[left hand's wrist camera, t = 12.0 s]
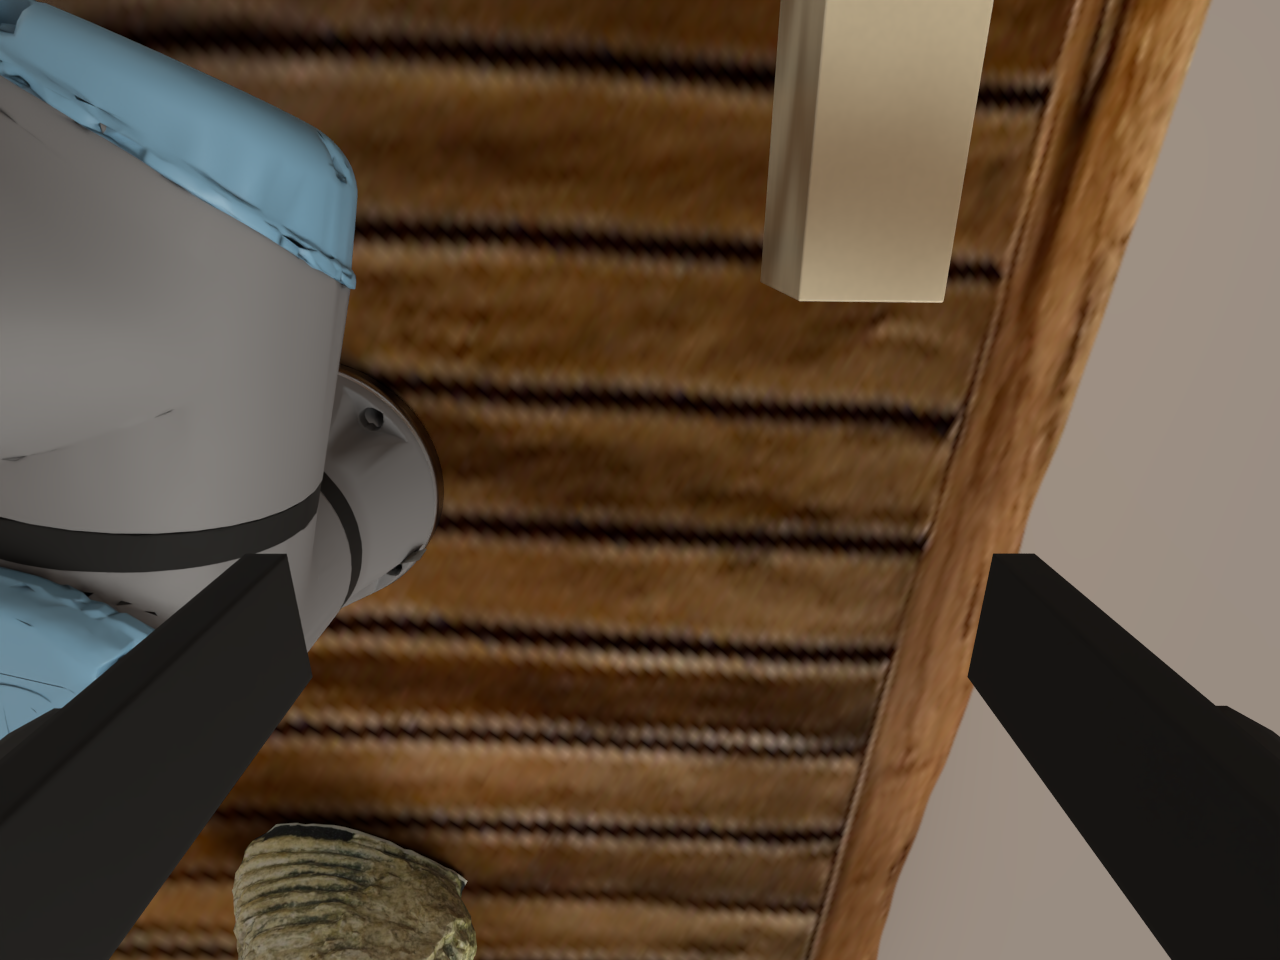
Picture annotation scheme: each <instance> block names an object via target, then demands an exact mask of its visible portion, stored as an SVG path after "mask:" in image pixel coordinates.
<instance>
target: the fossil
mask: <svg viewBox="0 0 1280 960" xmlns="http://www.w3.org/2000/svg"><path fill="white" fill-rule="evenodd" d="M466 882H467V880H465V879H464V878H463V877H461V876H460V875H459V874H458V873H456V872H455V871H453V870H451V869H449V868H446V867H444V866H442V865H440V864H438V863H437V862H435V861H433V860H431V859H429V858H426V857H424V856H422V855H420V854H418V853H416V852H414V851H412V850H406V849H403V848H401V847H400V846H398V845H396V844H394V843H392V842H390V841H387V840H385V839H382V838H379V837H376V836H373V835H370V834H367V833H364V832H361V831H358V830H354V829H350V828H346V827H341V826H336V825H323V824H300V823H288V824H276V825H275V826H274V827H273V828H272V829H271V830H269V831H268V832H267V833H265V834H263V835H262V836H260V837H258V838H256V839H255V840H253V841H252V842H251V843H250V845H249V846H248V847H247V848H246V850H245V854H244V858H243V861H242V863H241V865H240V867H239V869H238V870H237V872H236V873H235V882H234V887H233V890H232V892H233V895H234V914H235V917H236V924H235V927H234V933H235V935H236V938H237V950H238V954H239V958H238V960H473V958H474V956H475V954H476V949H477V946H476V934H475V930H474V928H473V925H472V923H471V916H470V914H469V912H468V910H467V909H466V907H465V905H464V903H463V901H462V900H461V894H462V890H463V888H464V886H465V884H466Z"/></svg>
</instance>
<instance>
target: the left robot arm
mask: <svg viewBox="0 0 1280 960" xmlns="http://www.w3.org/2000/svg"><path fill="white" fill-rule="evenodd" d="M356 207H357V185H356V180H355V176H354V173H353V170H352V168H351V165H350V163H349V161H348V160H347V158H346V156H345V155H344V154H343V152H342V151H341V149H340V148H339V147H338V146H337V145H336V144H335V143H334V142H333V141H332V140H331V139H330V138H329V137H328V136H326V135H325V134H324V133H323V132H321V131H320V130H318V129H317V128H315V127H313V126H311V125H310V124H308V123H306V122H304V121H302V120H300V119H298V118H296V117H295V116H293V115H291V114H289V113H287V112H285V111H283V110H281V109H279V108H277V107H275V106H273V105H271V104H269V103H267V102H265V101H262V100H260V99H258V98H256V97H254V96H252V95H250V94H248V93H246V92H244V91H242V90H239V89H237V88H235V87H233V86H231V85H229V84H227V83H224V82H222V81H220V80H218V79H216V78H214V77H212V76H209V75H207V74H205V73H203V72H201V71H199V70H196V69H194V68H192V67H190V66H188V65H185V64H183V63H181V62H179V61H177V60H175V59H172V58H170V57H168V56H166V55H164V54H161V53H159V52H157V51H155V50H152V49H150V48H148V47H146V46H143V45H141V44H139V43H137V42H134V41H132V40H130V39H127V38H125V37H123V36H121V35H118V34H116V33H114V32H112V31H109V30H107V29H105V28H103V27H100V26H98V25H96V24H94V23H91V22H89V21H87V20H84V19H82V18H80V17H77V16H75V15H72V14H70V13H68V12H65V11H63V10H61V9H58V8H56V7H53V6H51V5H49V4H46V3H41V2H37V1H35V0H0V960H109V958H110V957H111V956H112V954H113V953H114V951H115V950H116V949H117V947H118V946H119V945H120V943H121V942H122V940H123V939H124V938H125V936H126V935H127V933H128V932H129V931H130V929H131V928H132V926H133V925H134V924H135V922H136V921H137V920H138V918H139V917H140V915H141V914H142V913H143V911H144V910H145V908H146V907H147V906H148V904H149V903H150V902H151V900H152V899H153V897H154V896H155V895H156V893H157V892H158V890H159V889H160V888H161V886H162V885H163V883H164V882H165V881H166V879H167V878H168V877H169V875H170V874H171V872H172V871H173V870H174V868H175V867H176V865H177V864H178V863H179V861H180V860H181V859H182V857H183V856H184V854H185V853H186V852H187V850H188V849H189V847H190V846H191V845H192V843H193V842H194V840H195V839H196V838H197V836H198V835H199V834H200V832H201V831H202V829H203V828H204V827H205V825H206V824H207V822H208V821H209V820H210V818H211V817H212V816H213V814H214V813H215V811H216V810H217V809H218V807H219V806H220V804H221V803H222V802H223V800H224V799H225V797H226V796H227V795H228V793H229V792H230V791H231V789H232V788H233V786H234V785H235V784H236V782H237V781H238V779H239V778H240V777H241V775H242V774H243V773H244V771H245V770H246V768H247V767H248V766H249V764H250V763H251V761H252V760H253V759H254V757H255V756H256V754H257V753H258V752H259V750H260V749H261V748H262V746H263V745H264V743H265V742H266V741H267V739H268V738H269V736H270V735H271V734H272V732H273V731H274V730H275V728H276V727H277V725H278V724H279V723H280V721H281V720H282V718H283V717H284V716H285V714H286V713H287V711H288V710H289V709H290V707H291V706H292V705H293V703H294V702H295V700H296V699H297V698H298V696H299V695H300V693H301V692H302V691H303V689H304V688H305V687H306V685H307V684H308V682H309V681H310V680H311V678H312V672H311V668H310V663H309V658H308V653H307V652H308V651H309V650H310V648H311V647H312V646H313V644H314V643H315V642H316V641H317V639H318V638H319V637H320V635H321V634H322V633H323V631H324V630H325V629H326V628H327V626H328V625H329V624H330V622H331V621H332V620H333V618H334V617H335V616H336V614H337V613H338V612H339V610H340V609H341V608H342V607H345V606H347V605H349V604H351V603H353V602H355V601H357V600H359V599H361V598H363V597H366V596H368V595H370V594H372V593H374V592H376V591H378V590H380V589H382V588H384V587H386V586H388V585H389V584H391V583H393V582H394V581H396V580H397V579H398V578H400V577H401V576H402V575H403V574H405V573H406V572H407V571H408V570H409V569H410V568H411V567H412V566H413V564H414V563H415V562H416V561H418V560H420V558H421V557H422V555H423V554H424V552H425V551H426V549H425V548H426V546H427V545H428V543H429V542H430V540H431V538H432V537H433V535H434V533H435V531H436V528H437V526H438V523H439V520H440V516H441V513H442V507H443V498H444V485H443V476H442V469H441V466H440V462H439V458H438V455H437V452H436V450H435V447H434V445H433V443H432V441H431V439H430V437H429V435H428V433H427V431H426V430H425V428H424V426H423V425H422V423H421V422H420V421H419V419H418V418H417V417H416V415H415V414H414V413H413V412H412V411H411V409H410V408H409V407H408V406H407V405H406V404H405V403H404V402H403V401H402V400H401V399H400V398H399V397H398V396H397V395H395V394H394V393H393V392H392V391H391V390H389V389H388V388H387V387H385V386H384V385H382V384H381V383H379V382H378V381H376V380H375V379H373V378H371V377H369V376H368V375H366V374H364V373H362V372H359V371H357V370H355V369H353V368H350V367H347V366H344V365H342V364H339V363H340V356H341V349H342V342H343V336H344V329H345V322H346V315H347V309H348V302H349V295H350V289H355V286H356V276H355V274H354V272H353V271H352V253H353V242H354V230H355V218H356ZM968 678H969V680H970V681H971V682H972V684H973V685H974V687H975V688H976V689H977V691H978V692H979V693H980V695H981V696H982V698H983V699H984V700H985V702H986V703H987V705H988V706H989V707H990V709H991V710H992V711H993V713H994V714H995V716H996V717H997V718H998V720H999V721H1000V723H1001V724H1002V725H1003V727H1004V728H1005V729H1006V731H1007V732H1008V734H1009V735H1010V736H1011V738H1012V739H1013V741H1014V742H1015V743H1016V745H1017V746H1018V748H1019V749H1020V750H1021V752H1022V753H1023V754H1024V756H1025V757H1026V759H1027V760H1028V761H1029V763H1030V764H1031V766H1032V767H1033V768H1034V770H1035V771H1036V772H1037V774H1038V775H1039V777H1040V778H1041V779H1042V781H1043V782H1044V784H1045V785H1046V786H1047V788H1048V789H1049V790H1050V792H1051V793H1052V795H1053V796H1054V797H1055V799H1056V800H1057V802H1058V803H1059V804H1060V806H1061V807H1062V809H1063V810H1064V811H1065V813H1066V814H1067V815H1068V817H1069V818H1070V820H1071V821H1072V822H1073V824H1074V825H1075V827H1076V828H1077V829H1078V831H1079V832H1080V834H1081V835H1082V836H1083V838H1084V839H1085V840H1086V842H1087V843H1088V845H1089V846H1090V847H1091V849H1092V850H1093V852H1094V853H1095V854H1096V856H1097V857H1098V859H1099V860H1100V861H1101V863H1102V864H1103V865H1104V867H1105V868H1106V869H1107V871H1108V872H1109V874H1110V875H1111V877H1112V878H1113V879H1114V881H1115V882H1116V883H1117V885H1118V886H1119V888H1120V889H1121V890H1122V892H1123V893H1124V894H1125V896H1126V897H1127V899H1128V900H1129V902H1130V903H1131V904H1132V906H1133V907H1134V908H1135V910H1136V911H1137V913H1138V914H1139V915H1140V917H1141V918H1142V920H1143V921H1144V922H1145V924H1146V925H1147V926H1148V928H1149V929H1150V931H1151V932H1152V933H1153V935H1154V936H1155V938H1156V939H1157V940H1158V942H1159V943H1160V945H1161V946H1162V947H1163V949H1164V950H1165V951H1166V953H1167V954H1168V956H1169V957H1170V958H1171V960H1280V737H1279V736H1278V735H1277V734H1276V733H1274V732H1273V731H1271V730H1270V729H1268V728H1266V727H1264V726H1262V725H1261V724H1259V723H1257V722H1255V721H1253V720H1252V719H1250V718H1248V717H1246V716H1244V715H1242V714H1241V713H1239V712H1237V711H1235V710H1233V709H1231V708H1230V707H1228V706H1215V705H1214V704H1213V703H1212V702H1210V701H1209V700H1208V699H1207V698H1206V697H1205V696H1203V695H1202V694H1201V693H1200V692H1199V691H1197V690H1196V689H1195V688H1194V687H1193V686H1191V685H1190V684H1189V683H1188V682H1187V681H1185V680H1184V679H1183V678H1182V677H1181V676H1180V675H1178V674H1177V673H1176V672H1175V671H1173V670H1172V669H1171V668H1170V667H1169V666H1168V665H1166V664H1165V663H1164V662H1163V661H1162V660H1160V659H1159V658H1158V657H1157V656H1156V655H1155V654H1153V653H1152V652H1151V651H1150V650H1149V649H1147V648H1146V647H1145V646H1144V645H1143V644H1141V643H1140V642H1139V641H1138V640H1137V639H1135V638H1134V637H1133V636H1132V635H1131V634H1130V633H1128V632H1127V631H1126V630H1125V629H1124V628H1122V627H1121V626H1120V625H1119V624H1118V623H1116V622H1115V621H1114V620H1113V619H1112V618H1110V617H1109V616H1108V615H1107V614H1106V613H1104V612H1103V611H1102V610H1101V609H1100V608H1099V607H1097V606H1096V605H1095V604H1094V603H1093V602H1091V601H1090V600H1089V599H1088V598H1087V597H1085V596H1084V595H1083V594H1082V593H1081V592H1079V591H1078V590H1077V589H1076V588H1075V587H1074V586H1072V585H1071V584H1070V583H1069V582H1068V581H1066V580H1065V579H1064V578H1063V577H1062V576H1060V575H1059V574H1058V573H1057V572H1056V571H1054V570H1053V569H1052V568H1051V567H1050V566H1049V565H1047V564H1046V563H1045V562H1044V561H1043V560H1041V559H1040V558H1039V557H1038V556H1037V555H1035V554H993V557H992V562H991V567H990V571H989V576H988V581H987V586H986V591H985V595H984V600H983V605H982V610H981V615H980V619H979V624H978V629H977V634H976V639H975V643H974V648H973V653H972V658H971V663H970V668H969V672H968Z"/></svg>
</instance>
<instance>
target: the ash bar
mask: <svg viewBox="0 0 1280 960" xmlns="http://www.w3.org/2000/svg"><path fill="white" fill-rule="evenodd" d="M992 6H993V0H781V6H780V19H779V33H778V47H777V61H776V75H775V89H774V103H773V117H772V131H771V144H770V158H769V172H768V186H767V200H766V214H765V228H764V242H763V255H762V269H761V282H762V283H764V284H766V285H768V286H770V287H772V288H774V289H776V290H778V291H780V292H782V293H784V294H786V295H789V296H791V297H793V298H795V299H797V300H799V301H842V302H929V303H941V302H943V301H944V295H945V289H946V283H947V277H948V271H949V265H950V259H951V253H952V247H953V241H954V235H955V229H956V223H957V217H958V211H959V205H960V199H961V193H962V187H963V181H964V175H965V168H966V162H967V156H968V150H969V144H970V138H971V132H972V126H973V120H974V114H975V108H976V102H977V96H978V90H979V84H980V78H981V72H982V66H983V60H984V54H985V48H986V42H987V36H988V30H989V24H990V18H991V12H992Z"/></svg>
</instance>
